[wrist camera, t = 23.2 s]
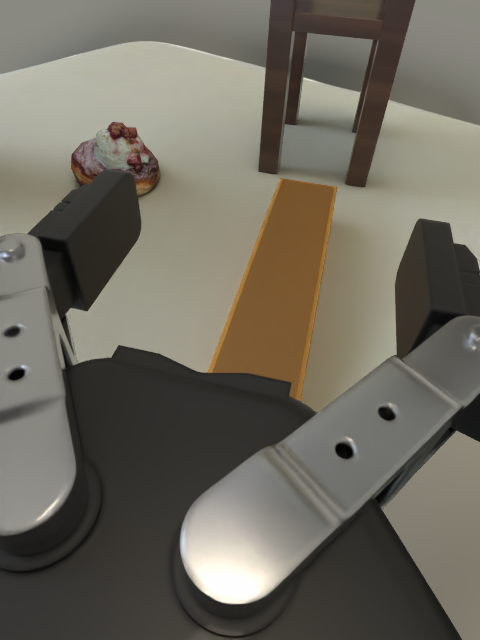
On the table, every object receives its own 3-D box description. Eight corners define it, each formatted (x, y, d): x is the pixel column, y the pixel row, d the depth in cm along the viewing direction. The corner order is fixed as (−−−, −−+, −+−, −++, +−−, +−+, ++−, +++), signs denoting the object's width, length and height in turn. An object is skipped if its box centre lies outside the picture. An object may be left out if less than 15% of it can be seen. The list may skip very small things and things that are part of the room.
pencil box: (285, 468, 20) (294, 435, 18) (194, 446, 21) (192, 410, 18) (329, 220, 35) (337, 184, 33) (276, 211, 36) (280, 176, 33)
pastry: (162, 199, 36) (156, 140, 33) (70, 204, 35) (53, 144, 32) (158, 156, 42) (153, 102, 38) (78, 159, 41) (65, 104, 37)
